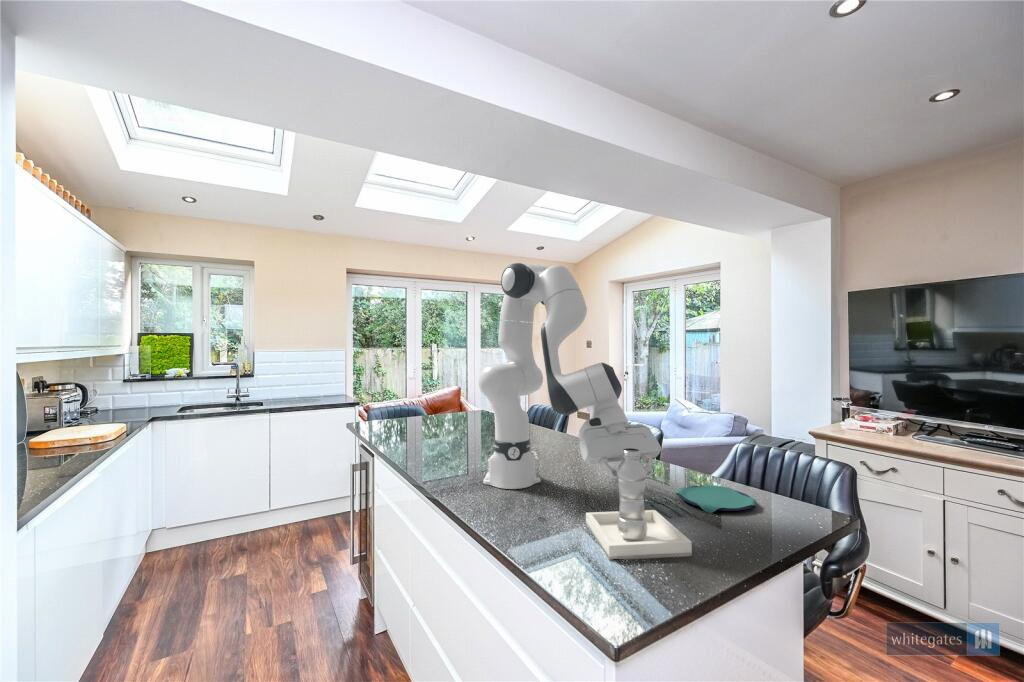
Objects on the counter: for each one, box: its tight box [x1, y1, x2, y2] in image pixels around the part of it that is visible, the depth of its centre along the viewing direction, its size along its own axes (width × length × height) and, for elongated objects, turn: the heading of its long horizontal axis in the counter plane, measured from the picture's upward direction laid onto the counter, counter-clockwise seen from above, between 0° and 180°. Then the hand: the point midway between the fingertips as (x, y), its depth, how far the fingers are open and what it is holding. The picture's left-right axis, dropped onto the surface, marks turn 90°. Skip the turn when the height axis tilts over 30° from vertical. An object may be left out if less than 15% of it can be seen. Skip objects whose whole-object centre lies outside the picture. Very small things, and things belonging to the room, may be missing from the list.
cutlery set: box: [644, 484, 757, 518], centre depth 122 cm, size 20×30×2 cm, turn 101°
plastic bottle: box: [616, 448, 648, 540], centre depth 98 cm, size 6×7×20 cm
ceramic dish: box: [585, 509, 693, 561], centre depth 99 cm, size 18×18×3 cm
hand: (631, 475), depth 102 cm, fingers open, 8 cm apart
